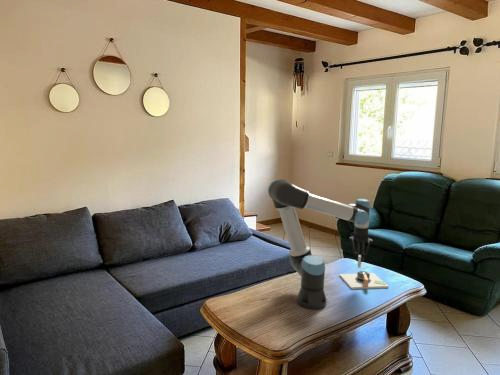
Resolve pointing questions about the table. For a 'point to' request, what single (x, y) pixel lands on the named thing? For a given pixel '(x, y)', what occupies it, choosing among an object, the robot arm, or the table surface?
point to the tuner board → (357, 284)
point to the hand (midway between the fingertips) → (359, 266)
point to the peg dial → (363, 277)
